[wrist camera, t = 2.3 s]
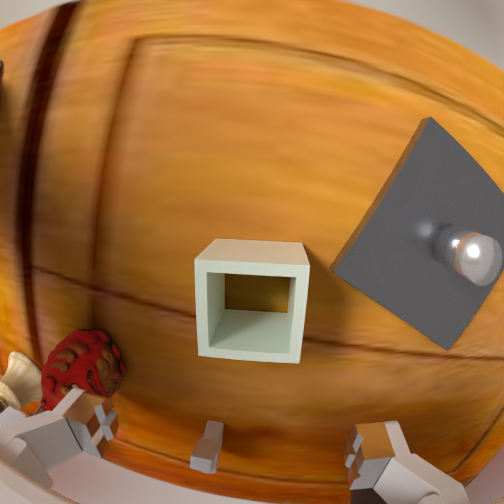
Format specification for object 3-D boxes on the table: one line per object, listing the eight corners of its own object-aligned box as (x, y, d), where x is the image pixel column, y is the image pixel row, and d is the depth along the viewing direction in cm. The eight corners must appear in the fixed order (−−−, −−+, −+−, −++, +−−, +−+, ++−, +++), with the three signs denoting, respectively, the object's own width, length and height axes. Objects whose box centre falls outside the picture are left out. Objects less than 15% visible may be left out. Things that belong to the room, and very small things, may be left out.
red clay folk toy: (139, 385, 27) (71, 494, 12) (89, 381, 28) (18, 468, 13) (113, 320, 25) (10, 420, 11) (63, 322, 26) (-32, 399, 12)
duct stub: (329, 266, 22) (348, 300, 16) (422, 119, 19) (466, 104, 12) (440, 342, 23) (472, 381, 17) (516, 221, 19) (561, 235, 13)
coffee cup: (330, 484, 29) (336, 544, 19) (354, 450, 27) (367, 519, 17) (383, 482, 29) (396, 536, 19) (411, 448, 27) (432, 508, 17)
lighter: (222, 445, 28) (209, 500, 20) (206, 442, 28) (191, 497, 20) (225, 403, 26) (210, 465, 19) (208, 400, 26) (188, 460, 19)
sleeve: (216, 315, 24) (198, 355, 18) (215, 238, 22) (194, 259, 17) (295, 321, 24) (299, 363, 18) (301, 242, 22) (310, 265, 16)
